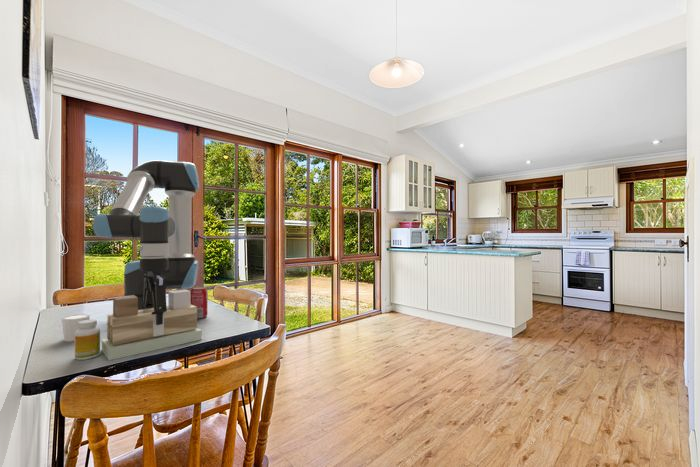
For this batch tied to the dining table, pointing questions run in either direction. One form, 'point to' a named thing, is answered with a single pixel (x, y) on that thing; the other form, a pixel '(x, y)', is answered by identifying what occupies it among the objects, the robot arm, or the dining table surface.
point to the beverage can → (200, 300)
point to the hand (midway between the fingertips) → (154, 331)
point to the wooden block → (149, 324)
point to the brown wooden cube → (125, 306)
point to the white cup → (72, 326)
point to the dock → (149, 344)
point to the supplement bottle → (87, 340)
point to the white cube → (179, 299)
